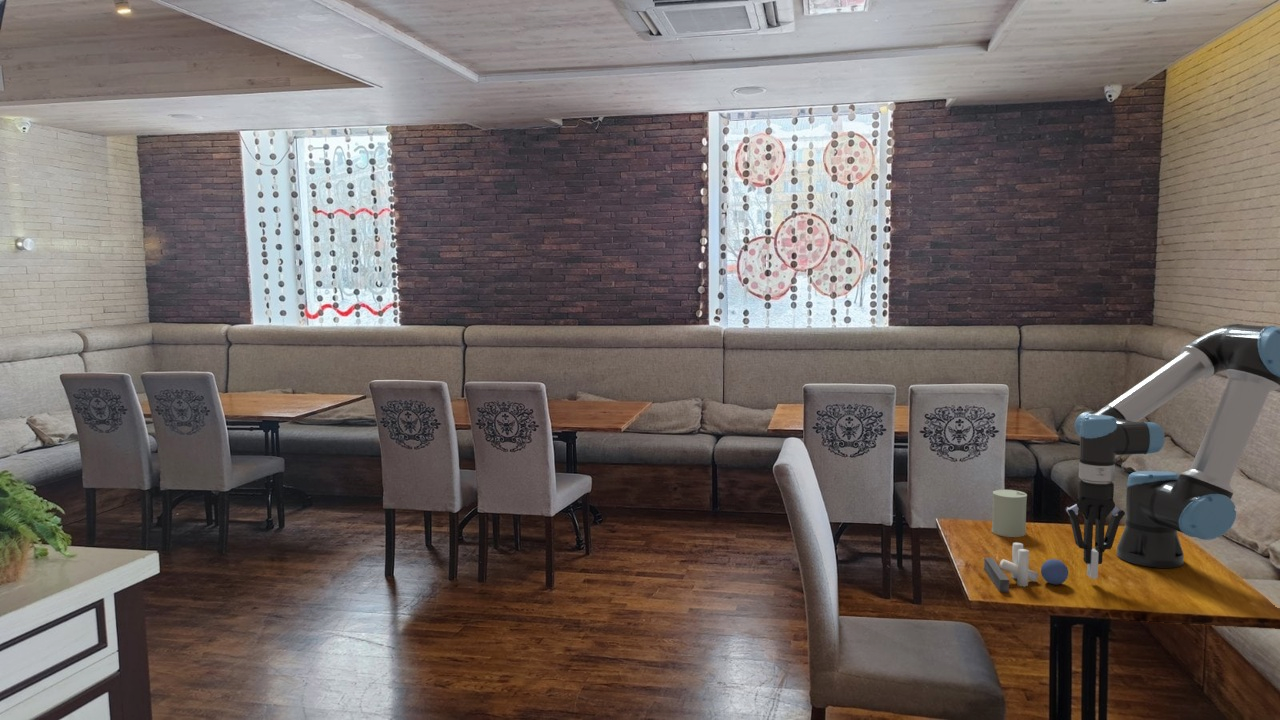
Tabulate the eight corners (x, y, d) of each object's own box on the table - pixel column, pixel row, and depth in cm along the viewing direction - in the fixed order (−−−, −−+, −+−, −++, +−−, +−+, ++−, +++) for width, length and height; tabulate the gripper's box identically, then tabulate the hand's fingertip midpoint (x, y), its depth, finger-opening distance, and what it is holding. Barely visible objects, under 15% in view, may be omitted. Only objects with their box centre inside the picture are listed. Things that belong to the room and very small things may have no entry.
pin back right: (1020, 576, 219) (1021, 542, 218) (1023, 579, 216) (1024, 545, 216) (1010, 575, 219) (1011, 542, 218) (1013, 579, 217) (1014, 545, 216)
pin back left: (1026, 583, 214) (1027, 549, 213) (1029, 586, 212) (1030, 552, 211) (1015, 582, 214) (1017, 548, 213) (1018, 586, 212) (1019, 552, 211)
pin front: (1036, 571, 216) (1002, 558, 217) (1039, 574, 213) (1005, 560, 214) (1032, 580, 216) (998, 566, 217) (1035, 583, 214) (1001, 569, 215)
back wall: (992, 569, 224) (992, 557, 224) (1008, 592, 208) (1009, 580, 208) (984, 569, 224) (984, 557, 224) (999, 592, 208) (1000, 579, 208)
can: (1029, 538, 249) (1030, 496, 248) (994, 536, 251) (995, 495, 250) (1022, 528, 258) (1023, 488, 257) (988, 527, 260) (989, 487, 259)
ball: (1032, 561, 216) (1043, 581, 217) (1041, 572, 210) (1053, 593, 211) (1055, 550, 215) (1066, 570, 216) (1065, 561, 209) (1076, 581, 210)
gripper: (1072, 483, 208) (1068, 580, 210) (1131, 484, 206) (1127, 583, 208) (1062, 476, 215) (1058, 570, 217) (1119, 477, 213) (1115, 572, 215)
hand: (1092, 576), depth 213 cm, fingers closed
